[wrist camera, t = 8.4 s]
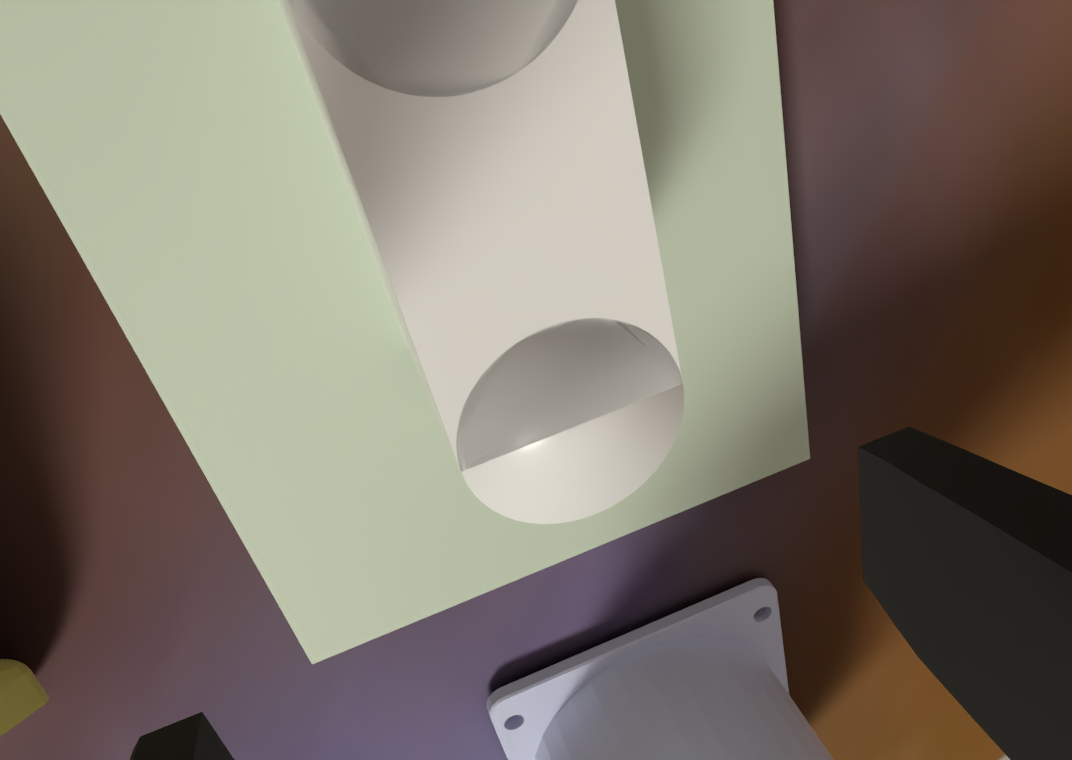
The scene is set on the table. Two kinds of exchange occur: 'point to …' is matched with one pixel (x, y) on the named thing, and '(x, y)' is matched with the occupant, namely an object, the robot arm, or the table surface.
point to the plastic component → (18, 694)
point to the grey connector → (508, 234)
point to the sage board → (361, 297)
